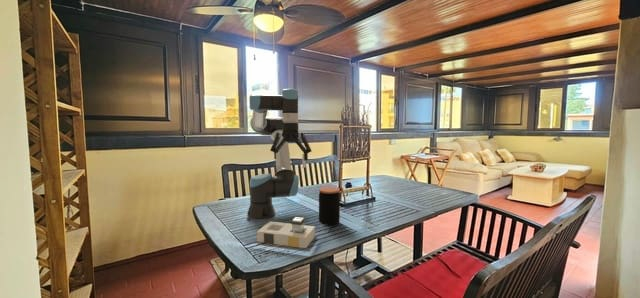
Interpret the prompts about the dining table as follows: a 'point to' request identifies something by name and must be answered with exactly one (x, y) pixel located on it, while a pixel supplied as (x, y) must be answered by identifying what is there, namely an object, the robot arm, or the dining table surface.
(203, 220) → the dining table surface
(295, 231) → the plug
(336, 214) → the coffee jar
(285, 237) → the port box
